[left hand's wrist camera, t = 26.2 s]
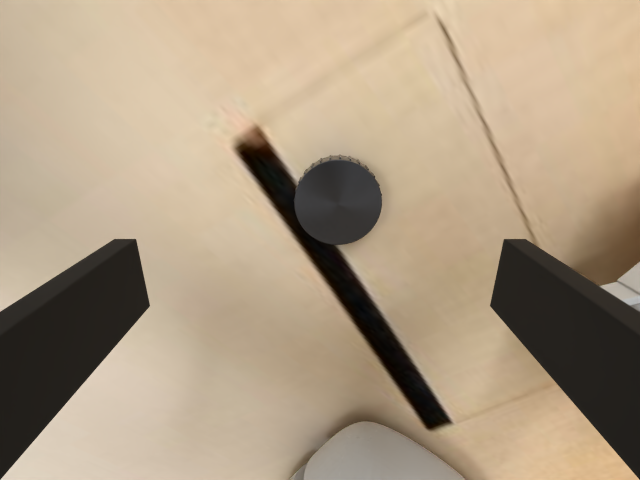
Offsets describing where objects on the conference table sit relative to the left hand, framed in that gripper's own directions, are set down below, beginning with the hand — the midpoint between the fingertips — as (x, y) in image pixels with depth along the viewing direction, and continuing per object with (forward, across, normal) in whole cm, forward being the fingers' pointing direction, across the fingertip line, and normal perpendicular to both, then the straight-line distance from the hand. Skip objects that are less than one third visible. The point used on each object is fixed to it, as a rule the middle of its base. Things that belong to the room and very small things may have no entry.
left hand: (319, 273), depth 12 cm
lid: (+12, +1, 0) cm, 12 cm away
